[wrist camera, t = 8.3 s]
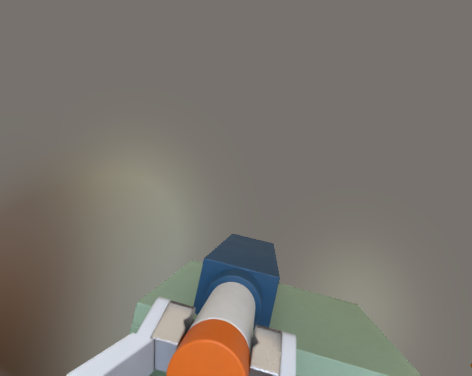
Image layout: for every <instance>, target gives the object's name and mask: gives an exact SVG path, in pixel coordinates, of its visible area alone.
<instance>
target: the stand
mask: <svg viewBox="0 0 472 376" xmlns="http://www.w3.org/2000/svg"><path fill="white" fill-rule="evenodd" d="M202 266H203V263H200V262H197V261H193V260H192V261H191V262H189V263H188V264H187V265H185V266H184V267H183V268H181V269H180V270H179V271H177V272H176V273H175V274H174V275H172V276H171V277H170V278H168V279H167V280H166V281H164V282H163V283H162V284H160V285H159V286H158V287H156V288H155V289H154V290H153V291H151V292H150V293H149V294H147V295H146V296H145V297H143V298H142V299H141V300H139V301H138V302H137V304H136V309H135V313H134V317H133V321H132V326H131V329H130V334H131V333H137V331H138V329H139V328H140V326H141V324H142V322H143V321H144V319H145V317H146V316H147V314H148V312H149V311H150V309H151V307H152V305H153V304H154V302H155V300H156V299H157V298H158V297H163V298H166V299H170V300H173V301H176V302H179V303H183V304H186V305H189V306H193V305H194V301H195V296H196V292H197V288H198V283H199V279H200V275H201V270H202ZM197 316H198V314H195V315H194V317H193V319H194V320H195V319H196V317H197ZM269 327H270V328H273V329H277V330H281V331H283V332H287V333H290V334H294V335H295V336H296V376H421V375H420V374H419V373H418V371H416V369H415V368H414V367H413V366H412V365H411V364H410V362H409V361H407V359H406V358H405V357H404V356H403V355H402V354H401V353H400V352H399V350H398V349H397V348H396V347H395V346H394V345H393V344H392V343H391V342H390V340H388V338H387V337H386V336H385V335H384V334H383V333H382V332H381V330H380V329H379V328H378V327H377V326H376V325H375V324H374V323H373V322H372V321H371V319H370V318H369V317H368V316H367V315H366V314H365V313H364V312H363V310H361V308H360V307H359V306H358V305H357V304H355V303H351V302H347V301H343V300H340V299H336V298H332V297H329V296H325V295H321V294H317V293H313V292H310V291H306V290H302V289H298V288H294V287H291V286H287V285H283V284H280V283H279V284H278V289H277V293H276V298H275V302H274V307H273V312H272V316H271V321H270V325H269ZM253 335H254V330H253ZM149 376H166V372H162V371H159V370H155V369H154V371H153V372H152V373H151V374H150V375H149Z"/></svg>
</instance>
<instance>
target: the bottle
mask: <svg viewBox="0 0 472 376" xmlns="http://www.w3.org/2000/svg"><path fill="white" fill-rule="evenodd" d="M279 279H280V277H279V271H278V266H277V261H276V255H275V249H274V244H273V243H268V242H265V241H261V240H256V239H252V238H248V237H244V236H240V235H236V234H232V235H231V236H229V237H228V238H227V239H226V240H225V241H224V242H222V243H221V244H220V245H219V246H218V247H217V248H215V249H214V250H213V251H212V252H211V253H210V254H209V255H207V256H206V257H205V258H204V261H203V266H202V270H201V275H200V279H199V283H198V288H197V292H196V296H195V301H194V305H193V307H195V314H198V316H197V317H196V319H195V320H194V322H193V324H192V325H191V327H190V329H189V330H188V332H187V333H186V335H185V337H184V338H183V340H182V342H181V343H180V345H179V346H178V348H177V350H176V351H175V353H174V354H173V356H172V358H171V360H170V362H169V364H168V368H167V373H166V376H249V365H250V356H251V347H252V337H253V330H255V326H256V324H258V325H262V326H266V327H269V325H270V321H271V316H272V312H273V307H274V302H275V298H276V293H277V289H278V284H279Z"/></svg>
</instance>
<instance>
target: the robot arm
mask: <svg viewBox="0 0 472 376" xmlns="http://www.w3.org/2000/svg"><path fill="white" fill-rule="evenodd" d="M194 315H195V307H193V306H189V305H186V304H183V303H179V302H176V301H173V300H170V299H166V298H163V297H158V298H157V299H156V300H155V302H154V304H153V305H152V307H151V309H150V311H149V312H148V314H147V316H146V317H145V319H144V321H143V322H142V324H141V326H140V328H139V329H138V331H137V333H131V334H129V335H128V336H126V337H125V338H123V339H122V340H120V341H119V342H117V343H115V344H114V345H112V346H111V347H109V348H107V349H106V350H104V351H103V352H101V353H100V354H98V355H96V356H95V357H93V358H92V359H90V360H89V361H87V362H86V363H84V364H82V365H81V366H79V367H78V368H76V369H75V370H73V371H71V372H70V373H68V374H67V375H66V376H149V375H150V374H151V373H152V372H153V371H154V369H155V370H159V371H162V372H166V373H167V368H168V364H169V362H170V360H171V358H172V356H173V354H174V353H175V351H176V350H177V348H178V346H179V345H180V343H181V342H182V340H183V338H184V337H185V335H186V333H187V332H188V330H189V329H190V327H191V325H192V324H193V322H194V319H193V317H194ZM249 376H296V336H295V335H294V334H290V333H287V332H283V331H281V330H277V329H273V328H270V327H266V326H262V325H258V324H256V326H255V330H254V335H253V337H252V347H251V356H250V365H249Z"/></svg>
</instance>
